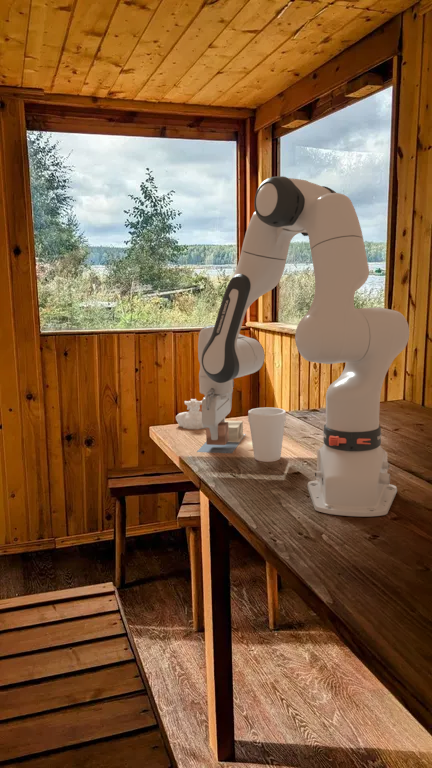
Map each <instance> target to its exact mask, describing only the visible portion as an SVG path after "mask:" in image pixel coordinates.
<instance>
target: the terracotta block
mask: <svg viewBox="0 0 432 768" xmlns="http://www.w3.org/2000/svg"><path fill="white" fill-rule="evenodd" d="M218 432H219V438H218V439H217V440H212V439H211V432H210V429H209V428H207V427H206V428H205V434H206V441H207V445H225V444H226V443H227V442H228V441H229V428H228V422H220V423H219V424H218Z"/></svg>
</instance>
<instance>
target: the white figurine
mask: <svg viewBox="0 0 432 768" xmlns="http://www.w3.org/2000/svg"><path fill="white" fill-rule="evenodd" d="M183 403H184V405H186V407H187V408H186V410H188V411H183V412H180V413H177V415H176V416H175V420H176V422H177V424H178V426H179V427H180V428H183V429H186V430H200V429H201V430H202V429H206V427H203V426H202V411H201V406H202V400H197V398H190V400H184V402H183Z"/></svg>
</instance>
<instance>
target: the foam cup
mask: <svg viewBox="0 0 432 768" xmlns="http://www.w3.org/2000/svg"><path fill="white" fill-rule="evenodd" d="M247 413H248V414H247V417H248V418H247V419H248V423H249V429H250V431H249V432H250V436H251V443H252V449H253V455H254V459H255V460H256V461H259V462H268V463H271V462H276V461H278V460H280V459H282V458H281V457H282V448H283V440H284V432H285V423H286V417H287V416H286V410H285V409H283V408H279V407H256V408H251V409H249V410H248V412H247Z"/></svg>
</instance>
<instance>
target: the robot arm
mask: <svg viewBox="0 0 432 768" xmlns="http://www.w3.org/2000/svg"><path fill="white" fill-rule="evenodd" d="M253 204H254V212H253V214H252V216H251V217H250V220H249V223H248V226H247V229H246V231H245V235H244V238H243V242H242V247H241V250H240V255H239V259H238V262H237V265H236V267H235V271H234V274H233V275H232V277H231V278H230V280H229V282H228V284H227V285H226V289H225V291H224V294H223V297H222V299H221V303H220V306H219V310H218V313H217V317H216V319H215V323H214V324H213V325H211V324H210V325H208V326H204V327H202V328H201V329H200V330H199V333H198V339H197V341H198V342H197V353H198V354H197V358H198V362H199V373H198V383H199V384H198V385H199V393H200V394H201V395H204V397H203V398H202V400H201V401H202V404H201V412H202V426H203V427H207V428H209V429H210V432H211V439H212V440H217V439H218V438H219V432H218V424H219V423H220V422H225V421H226V417H227V416H228V415H229V414H230V413H231V410H232V402H233V401H232V399H233V392H234V389H233V388H234V386H235V382H234V381H235V380H234V379H237V378H241V377H242V378H243V377H245V376H248V375H251V374H254V373H256V372H259V371H260V370H261V369H262V368H263V365H264V363H265V356H266V355H265V349H264V348H263V345H262V344H261V342H259V340H257V339H256V338H253V337H249V336H246V335H244V334H241V333H240V332H241V329H242V325H243V322H244V319H245V316H246V313H247V311H248V310H249V308H250V307H251V305H252V304H254V302H256V300H258V299H259V298H261V297H262V296H263V295H265V294H267V293H269V292H270V291H272V290H273V289H275V287H277V286H278V284H279V283H280V281H281V279H282V276H283V274H284V272H285V268H286V264H287V263H286V262H287V257H288V253H289V247H290V244H291V241H292V239H294V237H295V236H296V235H298V234H301V235H302V236H304V237H308V241H309V247H310V252H311V259H312V260H311V261H312V266H313V267H312V268H313V272H314V273H313V274H314V287H315V289H314V294H313V295H314V297H313V298H312V303H311V305H310V307H309V309H308V311H307V313H306V314H305V315H304V316H303V317H302V318H301V319H300V321H299V322H298V324H297V326H296V329H295V333H294V334H295V335H294V341H295V346H296V348H297V351H298V353H299V355H300V356H301V357H302V358H303V359H304V360H305V361H307V362H311V363H316V364H326V365H333V364H334V365H335V364H342V363H345V364H344V365H345V366H344V369H343V371H342V372H341V374H340V375H339V377H338V378H337V379H336V380H334V381H333V382H332V383H330V385H329V386H328V387H327V388H326V389H327V390H326V393H325V424H324V425H323V431H322V437H323V445H322V446H321V447H319V449H317V451H316V454H317V455H316V458H317V459H316V471H315V472H314V477H315V478H316V479H315V480H310V481H308V483H307V490H308V493H309V497H310V498H311V503H312V505H313V507H314V511H316V512H321V513H324V514H329V515H335V516H346V517H380V516H385V515H388V514H389V510H391V509H390V508H391V506H392V504H393V501H394V499H395V497H396V494H397V492H398V488H397V486H396V485H394V484H390V483H391V474H390V473H388V470H389V469H390V463H389V462H388V452H387V451H386V450H385V449H383V448H382V446H381V445H382V427H381V426H380V407H381V404H380V402H381V393H382V388H383V385H384V380H385V378H386V375H387V373H388V371H389V368H390V367H391V366H392V364H393V362H394V361H395V359H396V358H397V357H398V355H400V353H402V352H403V351H404V350H405V349H406V347H407V345H408V342H409V338H410V328H409V327H410V326H409V323H408V321H407V319H406V317H405V316H404V315H403V313H401V311H398V310H394V309H389V308H384V307H365V308H364V307H363V308H361V307H360V308H356V307H355V294H356V291H358V290H360V289H361V288H362V286H363V285H365V283H366V282H367V281H368V278H369V274H370V268H369V263H368V256H367V252H366V247H365V242H364V236H363V232H362V227H361V224H360V221H359V218H358V213H357V212H356V209H355V206H354V204H353V202H352V200H351V199H350V197H348V196H347V195H345V194H343V193H339V192H336V191H335V190H333V189H331V188H330V187H328V186H323V185H322V186H321V185H319V184H317V183H314V182H310V181H308V180H306V179H301V178H300V179H299V178H291V177H290V178H289V177H286V176H284V175H283V176H282V175H281V176H271V177H267V178H266V179H265V180H263V181H262V182H261V184H260V185H259V186H258V188H257V189H256V192H255V196H254V203H253Z"/></svg>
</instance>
